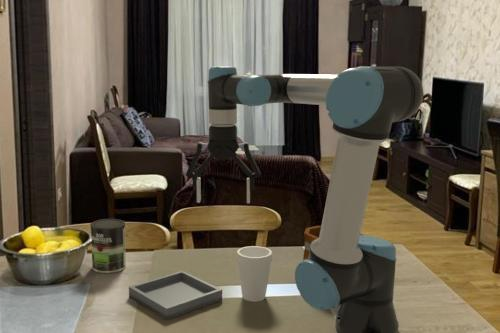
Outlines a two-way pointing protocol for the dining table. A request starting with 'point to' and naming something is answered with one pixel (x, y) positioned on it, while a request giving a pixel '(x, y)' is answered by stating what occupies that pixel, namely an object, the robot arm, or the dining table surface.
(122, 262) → the coffee can
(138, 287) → the tray
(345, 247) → the robot arm
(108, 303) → the dining table surface
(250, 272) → the foam cup
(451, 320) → the dining table surface
